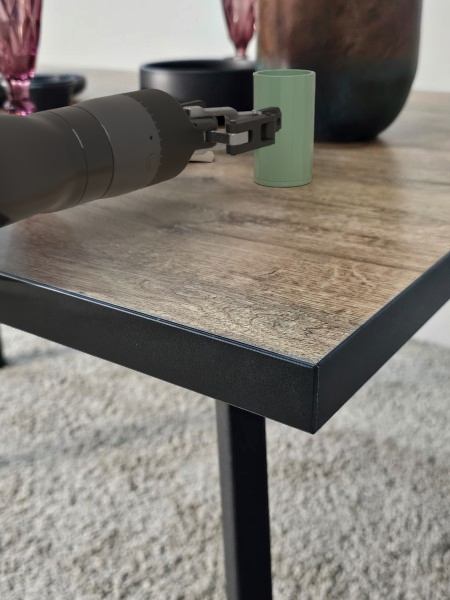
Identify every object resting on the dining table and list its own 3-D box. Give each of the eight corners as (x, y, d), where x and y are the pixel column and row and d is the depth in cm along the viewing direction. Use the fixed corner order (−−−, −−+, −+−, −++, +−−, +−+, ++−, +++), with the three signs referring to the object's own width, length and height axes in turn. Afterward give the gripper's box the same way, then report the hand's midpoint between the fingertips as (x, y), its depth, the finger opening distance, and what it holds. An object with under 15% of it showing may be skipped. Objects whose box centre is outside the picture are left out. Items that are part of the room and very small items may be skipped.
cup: (245, 184, 77) (244, 75, 73) (264, 171, 83) (264, 68, 78) (303, 189, 75) (305, 76, 71) (318, 175, 81) (321, 69, 76)
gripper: (191, 101, 53) (305, 77, 65) (53, 89, 60) (178, 70, 72) (195, 203, 56) (303, 162, 68) (63, 179, 63) (181, 146, 75)
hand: (238, 114), depth 70 cm, fingers open, 8 cm apart
